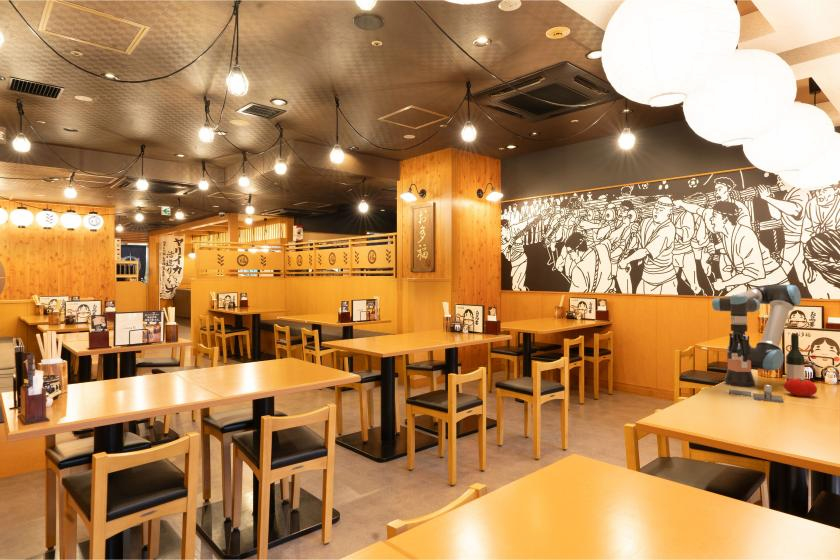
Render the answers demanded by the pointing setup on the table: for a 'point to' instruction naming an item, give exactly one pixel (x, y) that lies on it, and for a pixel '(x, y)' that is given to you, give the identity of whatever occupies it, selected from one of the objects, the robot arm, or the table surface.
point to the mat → (740, 392)
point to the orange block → (738, 365)
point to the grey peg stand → (768, 395)
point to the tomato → (800, 387)
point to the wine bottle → (794, 360)
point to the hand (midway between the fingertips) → (739, 366)
